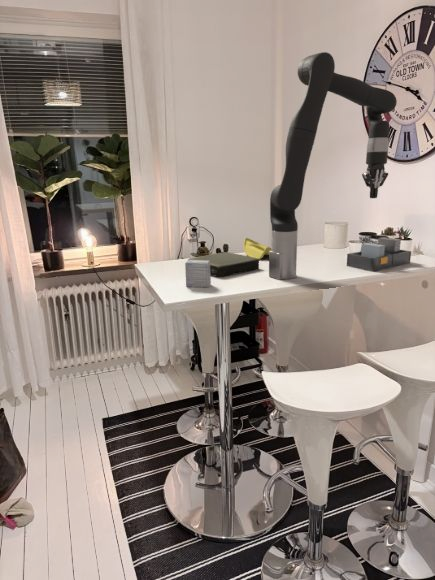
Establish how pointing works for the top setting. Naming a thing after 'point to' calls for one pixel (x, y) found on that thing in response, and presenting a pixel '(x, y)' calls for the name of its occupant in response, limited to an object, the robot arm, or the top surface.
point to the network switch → (229, 263)
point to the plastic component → (255, 249)
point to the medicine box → (197, 273)
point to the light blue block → (372, 250)
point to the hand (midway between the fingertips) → (373, 198)
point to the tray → (390, 258)
